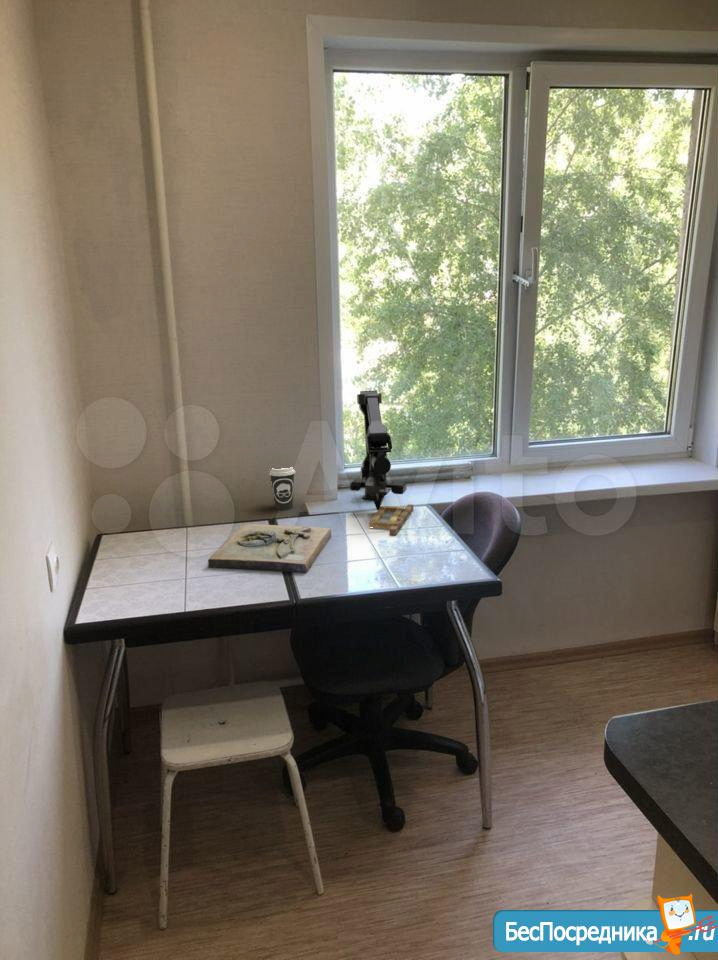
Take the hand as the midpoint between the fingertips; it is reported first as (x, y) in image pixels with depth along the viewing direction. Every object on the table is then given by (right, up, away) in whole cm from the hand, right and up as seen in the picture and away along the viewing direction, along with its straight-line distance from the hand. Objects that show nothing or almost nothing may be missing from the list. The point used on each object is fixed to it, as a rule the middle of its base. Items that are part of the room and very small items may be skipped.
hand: (378, 509), depth 253 cm
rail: (+8, -4, -10) cm, 13 cm away
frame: (+3, -3, -7) cm, 8 cm away
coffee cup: (-34, 0, +9) cm, 35 cm away
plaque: (-33, -12, -32) cm, 47 cm away
